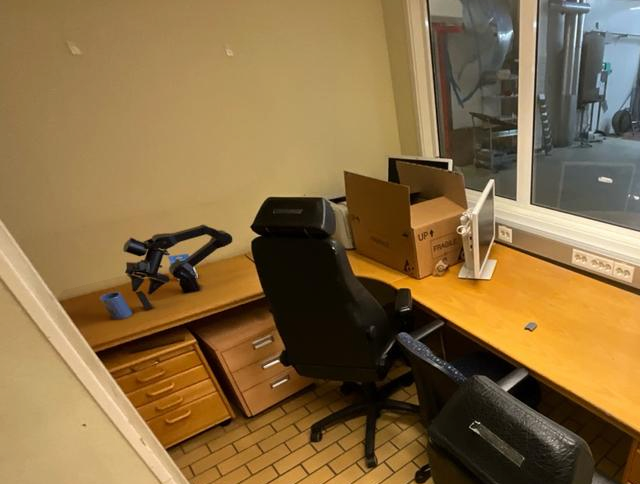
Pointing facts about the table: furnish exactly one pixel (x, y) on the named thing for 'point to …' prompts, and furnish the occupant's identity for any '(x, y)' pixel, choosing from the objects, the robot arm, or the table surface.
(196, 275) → the tape cartridge
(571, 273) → the table surface
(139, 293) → the ink cartridge
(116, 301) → the pen cup
